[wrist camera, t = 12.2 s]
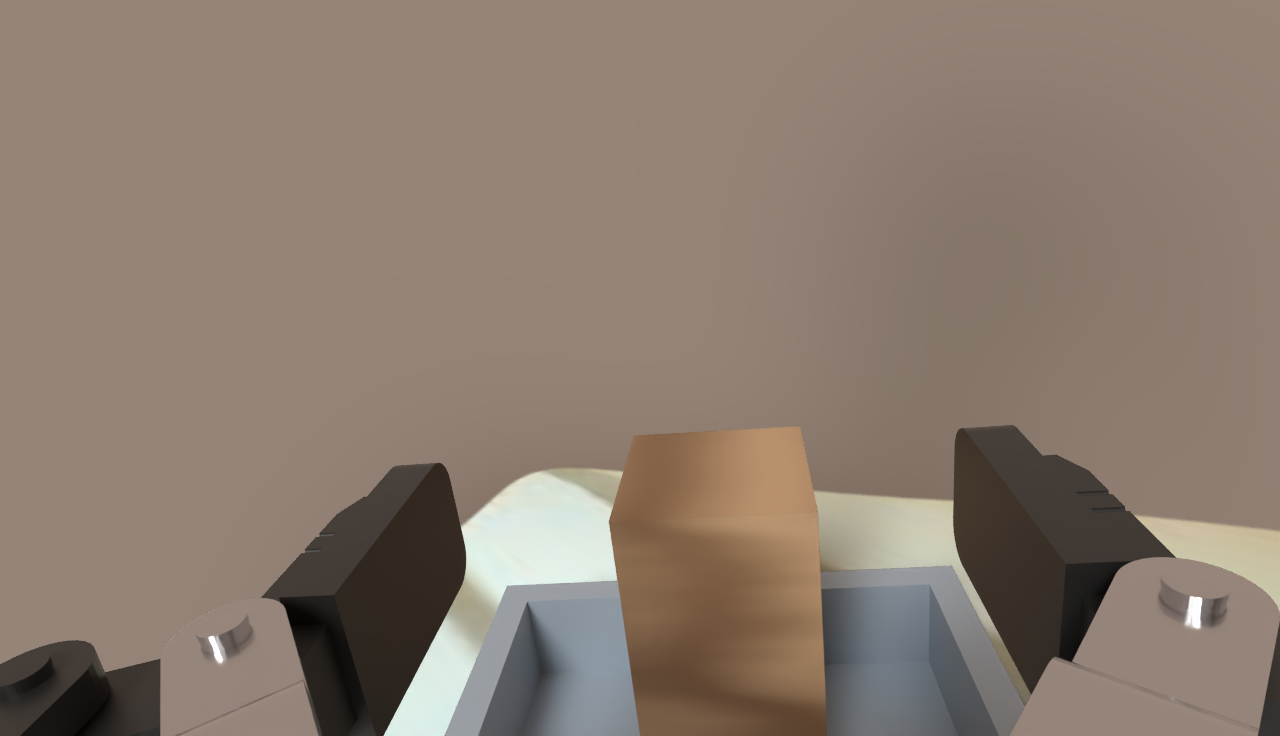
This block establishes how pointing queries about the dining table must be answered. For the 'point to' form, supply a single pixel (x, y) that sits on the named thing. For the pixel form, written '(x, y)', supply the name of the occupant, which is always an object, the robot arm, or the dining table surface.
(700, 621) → the walnut block
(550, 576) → the dining table surface
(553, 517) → the dining table surface
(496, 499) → the dining table surface
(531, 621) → the tray
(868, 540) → the dining table surface
